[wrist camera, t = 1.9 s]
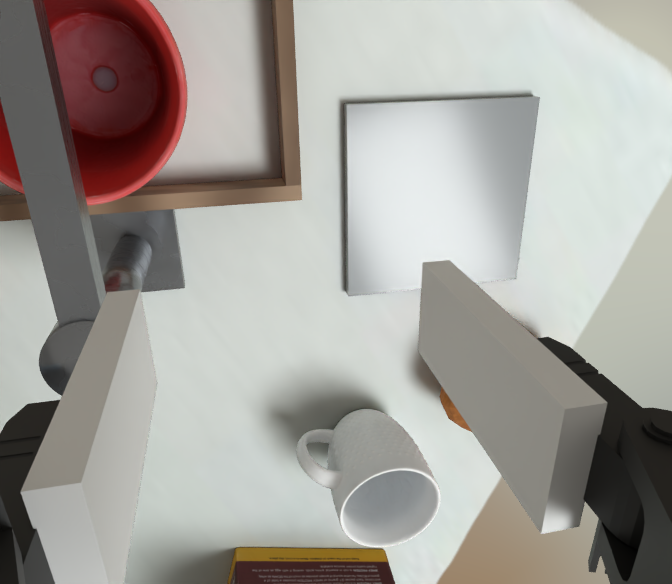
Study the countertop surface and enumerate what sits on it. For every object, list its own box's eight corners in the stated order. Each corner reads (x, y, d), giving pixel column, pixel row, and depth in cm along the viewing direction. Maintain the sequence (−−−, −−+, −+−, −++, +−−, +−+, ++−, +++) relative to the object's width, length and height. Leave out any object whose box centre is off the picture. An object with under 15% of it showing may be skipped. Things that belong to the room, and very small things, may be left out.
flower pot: (231, 87, 35) (236, 100, 26) (110, 200, 36) (77, 249, 27) (96, -68, 30) (49, -115, 22) (-36, 68, 32) (-131, 76, 23)
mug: (275, 452, 47) (288, 538, 39) (306, 377, 45) (327, 453, 37) (382, 471, 51) (415, 554, 42) (417, 403, 48) (459, 477, 40)
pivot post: (97, 291, 38) (47, 397, 27) (79, 209, 36) (15, 286, 24) (185, 283, 39) (172, 382, 28) (173, 203, 37) (155, 274, 25)
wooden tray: (-64, 215, 34) (-83, 227, 32) (-162, -77, 28) (-194, -87, 26) (296, 191, 38) (301, 200, 36) (284, -69, 32) (289, -78, 30)
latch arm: (62, 383, 26) (40, 432, 23) (-69, -98, 18) (-131, -131, 15) (148, 373, 27) (139, 419, 24) (59, -95, 19) (26, -125, 16)
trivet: (346, 292, 42) (348, 296, 42) (344, 103, 37) (346, 104, 36) (511, 275, 45) (516, 279, 44) (533, 96, 39) (539, 96, 38)
